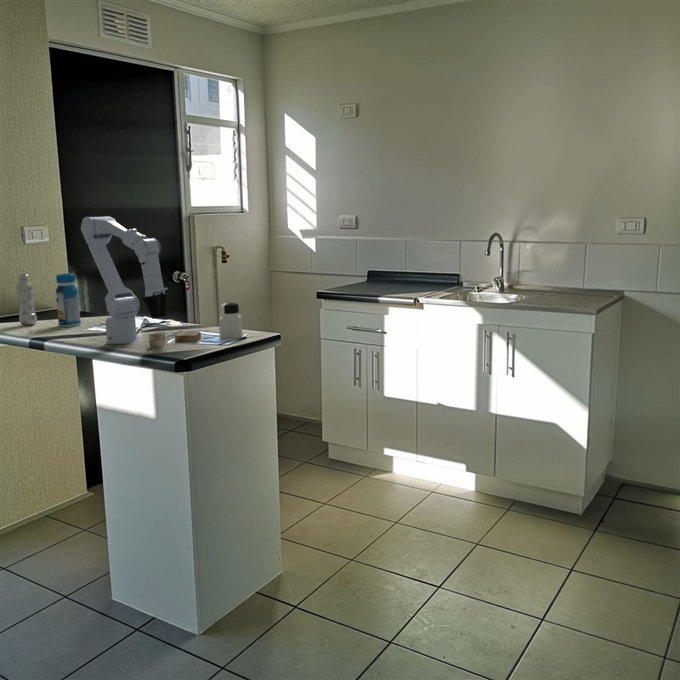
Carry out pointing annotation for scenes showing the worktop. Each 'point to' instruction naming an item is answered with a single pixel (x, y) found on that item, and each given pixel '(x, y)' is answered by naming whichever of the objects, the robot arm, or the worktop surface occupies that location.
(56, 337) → the worktop surface
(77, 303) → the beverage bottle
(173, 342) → the mat
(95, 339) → the worktop surface
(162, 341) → the maple block
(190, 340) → the walnut slab
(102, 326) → the worktop surface
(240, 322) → the medicine bottle
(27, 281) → the plastic bottle
